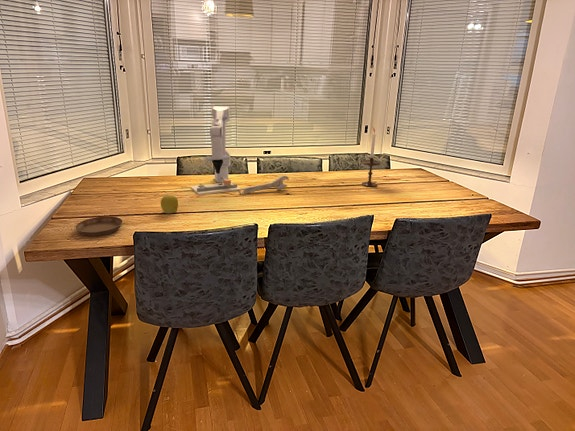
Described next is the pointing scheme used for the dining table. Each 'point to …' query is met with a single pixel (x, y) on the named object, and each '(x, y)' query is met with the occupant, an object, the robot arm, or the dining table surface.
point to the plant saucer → (99, 226)
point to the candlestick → (371, 163)
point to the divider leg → (225, 181)
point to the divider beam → (203, 188)
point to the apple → (169, 204)
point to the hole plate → (213, 190)
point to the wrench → (266, 185)
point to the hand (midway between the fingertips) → (217, 173)
